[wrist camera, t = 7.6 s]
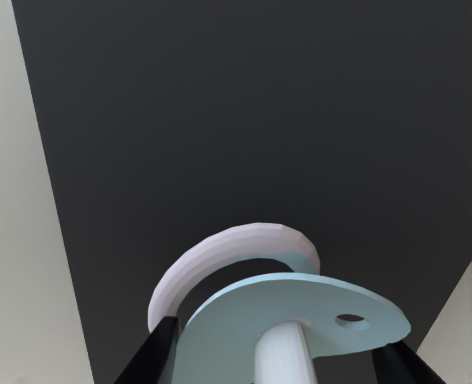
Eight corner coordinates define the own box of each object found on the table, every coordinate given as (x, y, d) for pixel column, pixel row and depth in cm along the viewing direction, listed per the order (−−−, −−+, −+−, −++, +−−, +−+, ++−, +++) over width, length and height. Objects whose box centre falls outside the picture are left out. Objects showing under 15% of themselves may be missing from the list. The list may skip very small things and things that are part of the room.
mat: (631, -39, 7) (656, -44, 7) (374, 406, 17) (378, 416, 17) (-2, -118, 7) (-18, -127, 6) (100, 387, 16) (96, 397, 16)
